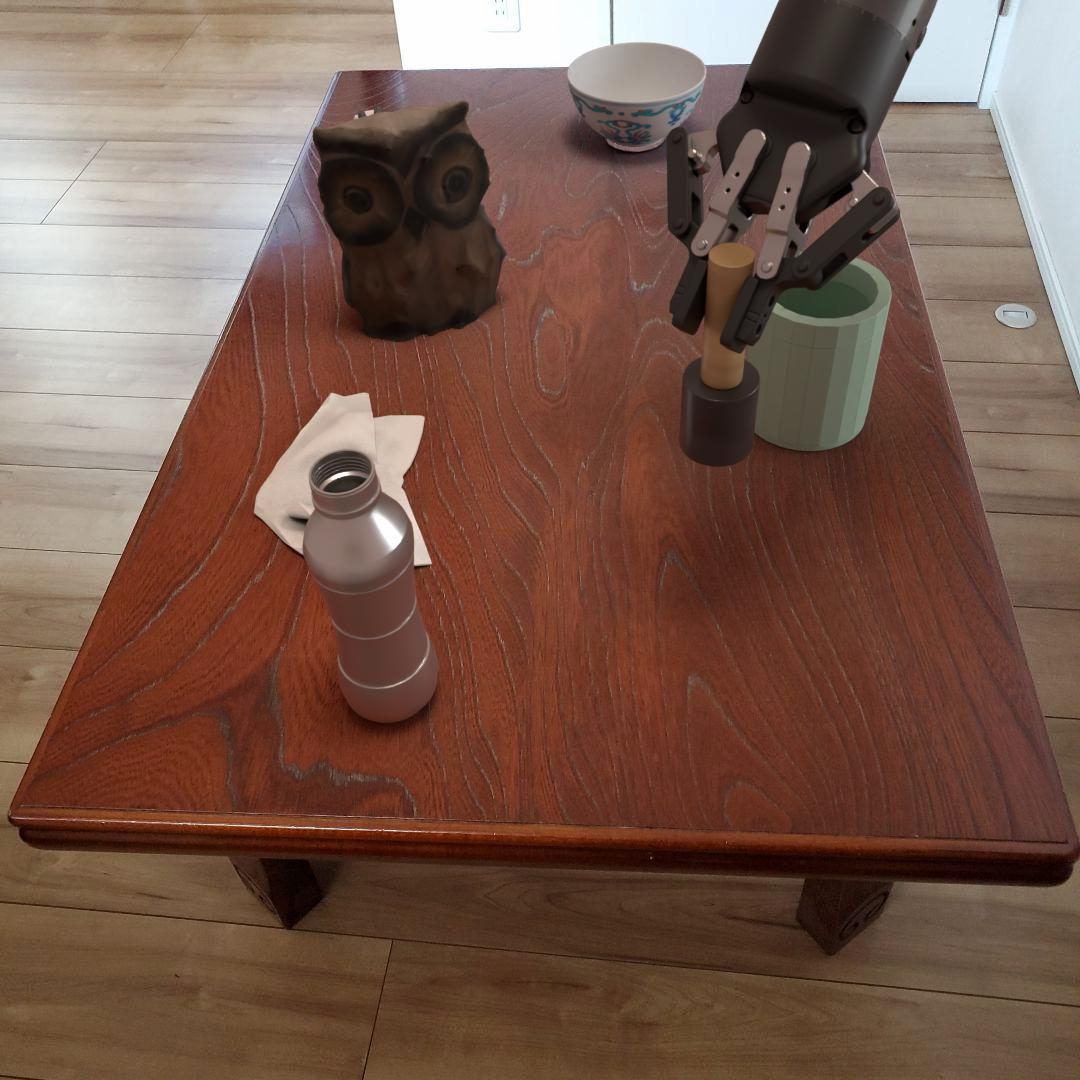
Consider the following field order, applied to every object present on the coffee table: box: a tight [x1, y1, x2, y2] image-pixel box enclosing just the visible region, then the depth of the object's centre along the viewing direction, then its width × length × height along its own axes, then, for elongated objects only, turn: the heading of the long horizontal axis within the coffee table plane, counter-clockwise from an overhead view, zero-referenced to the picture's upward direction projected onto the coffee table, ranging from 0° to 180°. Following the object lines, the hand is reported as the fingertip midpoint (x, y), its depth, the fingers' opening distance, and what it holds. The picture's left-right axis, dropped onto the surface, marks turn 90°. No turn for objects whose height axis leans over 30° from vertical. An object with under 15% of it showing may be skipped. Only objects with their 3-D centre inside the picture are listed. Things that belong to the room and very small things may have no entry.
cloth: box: [253, 392, 433, 567], centre depth 87 cm, size 26×14×2 cm, turn 4°
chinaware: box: [566, 41, 707, 147], centre depth 123 cm, size 15×15×8 cm
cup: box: [745, 251, 893, 452], centre depth 88 cm, size 10×10×12 cm
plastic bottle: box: [302, 449, 439, 724], centre depth 67 cm, size 6×7×20 cm
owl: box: [312, 100, 508, 342], centre depth 98 cm, size 13×13×20 cm
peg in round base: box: [678, 242, 760, 468], centre depth 63 cm, size 4×4×13 cm
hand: (706, 338), depth 60 cm, fingers closed on peg in round base, 2 cm apart
